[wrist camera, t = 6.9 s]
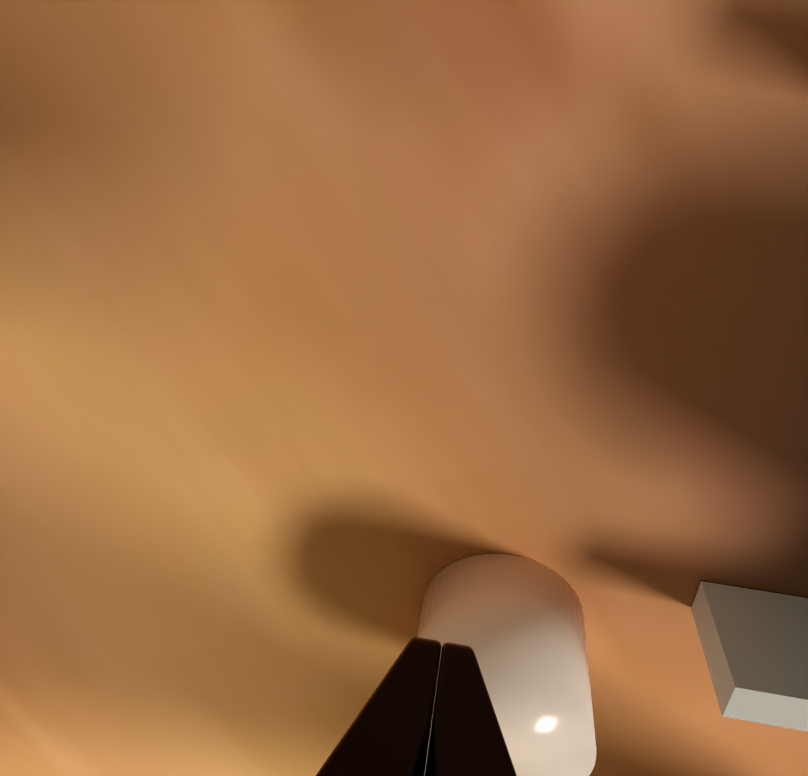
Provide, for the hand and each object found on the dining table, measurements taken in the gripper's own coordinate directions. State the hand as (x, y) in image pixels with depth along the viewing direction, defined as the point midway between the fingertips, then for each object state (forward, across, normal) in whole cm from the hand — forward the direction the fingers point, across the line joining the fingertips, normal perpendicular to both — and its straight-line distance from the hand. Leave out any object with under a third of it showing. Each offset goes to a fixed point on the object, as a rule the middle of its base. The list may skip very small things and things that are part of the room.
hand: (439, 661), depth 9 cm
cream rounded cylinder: (+11, -2, +10) cm, 15 cm away
